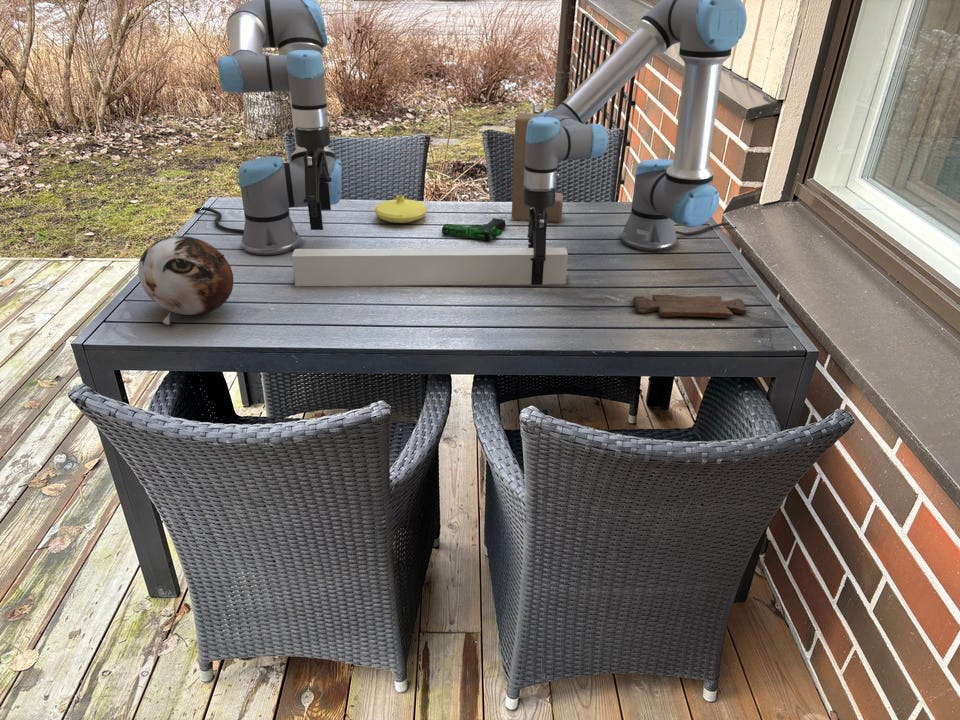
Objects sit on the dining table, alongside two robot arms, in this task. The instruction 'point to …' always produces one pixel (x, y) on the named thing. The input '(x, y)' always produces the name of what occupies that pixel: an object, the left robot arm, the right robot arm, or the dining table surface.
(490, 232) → the handgun
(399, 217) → the yellow pattypan squash
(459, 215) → the dining table surface
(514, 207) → the decorative block
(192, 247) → the eye print balloon
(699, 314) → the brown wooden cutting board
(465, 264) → the beam
